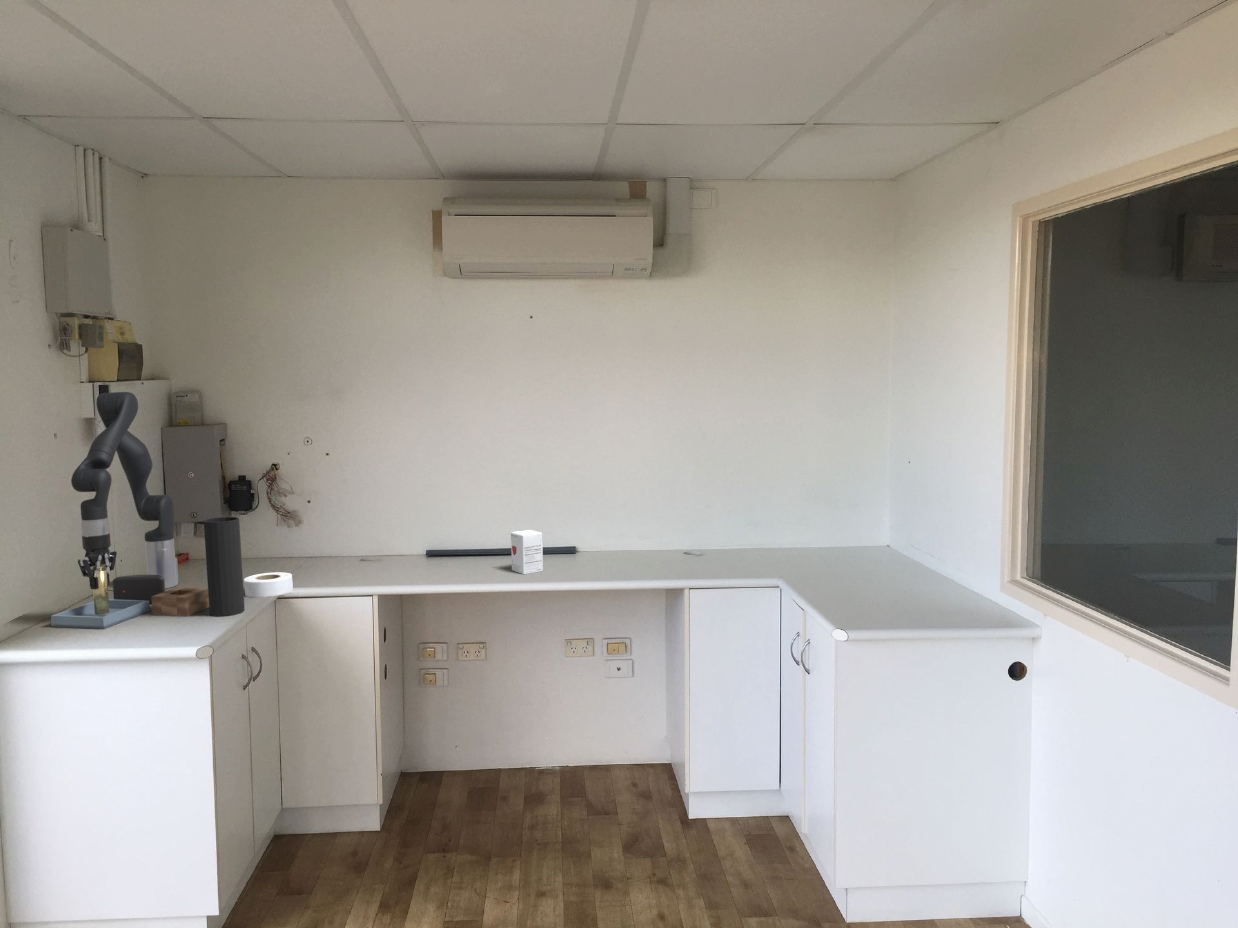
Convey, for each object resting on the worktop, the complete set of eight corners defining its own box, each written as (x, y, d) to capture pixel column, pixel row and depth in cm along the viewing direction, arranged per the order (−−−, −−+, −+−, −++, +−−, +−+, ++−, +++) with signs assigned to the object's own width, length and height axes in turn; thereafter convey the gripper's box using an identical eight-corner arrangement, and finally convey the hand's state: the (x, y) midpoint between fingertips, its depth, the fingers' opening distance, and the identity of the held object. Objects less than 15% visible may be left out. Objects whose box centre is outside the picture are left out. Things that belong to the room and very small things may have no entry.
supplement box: (511, 570, 336) (509, 531, 334) (531, 567, 341) (530, 529, 340) (523, 574, 328) (522, 535, 327) (543, 571, 334) (542, 532, 332)
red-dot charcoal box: (170, 600, 299) (168, 573, 298) (164, 603, 294) (162, 576, 293) (119, 602, 297) (117, 574, 296) (113, 605, 292) (111, 578, 291)
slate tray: (100, 609, 288) (100, 598, 287) (150, 611, 285) (149, 600, 284) (51, 626, 268) (50, 615, 268) (104, 628, 265) (103, 617, 265)
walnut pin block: (177, 605, 292) (176, 587, 291) (210, 606, 290) (209, 588, 289) (152, 614, 280) (151, 596, 279) (186, 616, 278) (185, 597, 277)
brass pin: (101, 610, 279) (97, 564, 277) (112, 611, 278) (109, 564, 276) (91, 614, 275) (88, 567, 273) (103, 614, 274) (99, 567, 272)
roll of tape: (234, 594, 306) (233, 578, 306) (274, 584, 319) (273, 569, 319) (262, 600, 297) (261, 584, 297) (302, 590, 311) (301, 574, 310)
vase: (204, 612, 282) (198, 520, 278) (235, 606, 289) (229, 515, 286) (218, 618, 275) (212, 523, 272) (250, 611, 282) (244, 518, 279)
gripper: (102, 528, 281) (106, 581, 283) (67, 537, 267) (71, 592, 269) (123, 529, 280) (127, 582, 282) (89, 537, 266) (93, 593, 268)
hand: (100, 586), depth 275 cm, fingers closed on brass pin, 4 cm apart
